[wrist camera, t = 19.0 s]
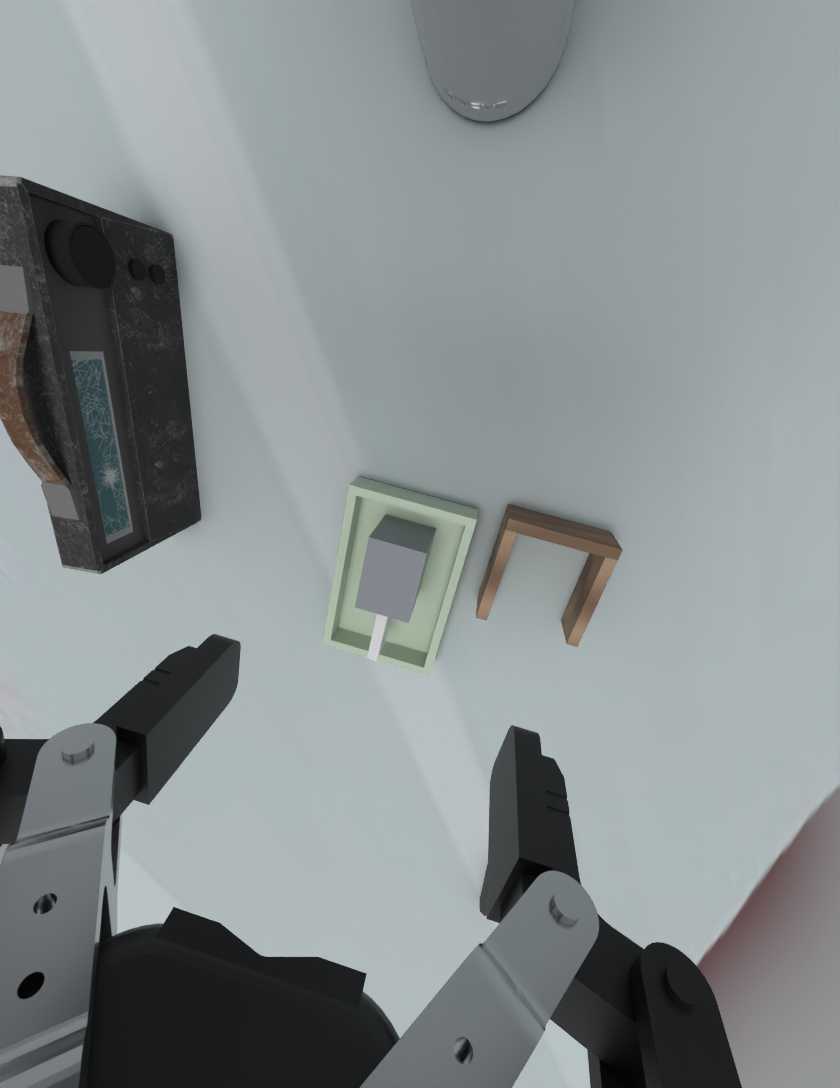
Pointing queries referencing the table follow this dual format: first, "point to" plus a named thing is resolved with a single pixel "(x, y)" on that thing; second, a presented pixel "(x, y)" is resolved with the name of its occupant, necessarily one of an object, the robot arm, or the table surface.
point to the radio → (95, 373)
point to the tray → (448, 552)
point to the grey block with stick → (393, 574)
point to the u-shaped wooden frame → (563, 533)
